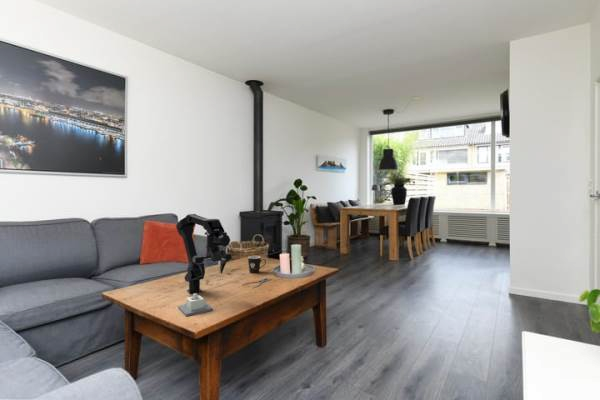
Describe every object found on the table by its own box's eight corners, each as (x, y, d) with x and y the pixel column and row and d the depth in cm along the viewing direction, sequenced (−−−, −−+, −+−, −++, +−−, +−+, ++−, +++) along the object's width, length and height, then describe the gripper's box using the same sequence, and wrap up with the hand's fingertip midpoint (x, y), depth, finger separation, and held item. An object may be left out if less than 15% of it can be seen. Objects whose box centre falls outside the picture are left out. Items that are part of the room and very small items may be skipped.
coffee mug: (245, 272, 211) (245, 257, 211) (254, 269, 218) (254, 255, 218) (258, 275, 204) (258, 259, 204) (266, 272, 211) (266, 257, 211)
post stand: (178, 308, 147) (177, 293, 146) (203, 302, 154) (203, 288, 153) (185, 316, 137) (185, 300, 137) (212, 310, 144) (212, 295, 144)
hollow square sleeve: (186, 306, 146) (186, 297, 146) (199, 303, 149) (199, 295, 149) (190, 310, 141) (190, 301, 141) (204, 307, 145) (203, 298, 144)
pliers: (239, 285, 180) (258, 276, 199) (239, 287, 180) (258, 278, 199) (254, 287, 177) (271, 278, 195) (254, 289, 177) (271, 280, 195)
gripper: (198, 248, 148) (198, 281, 149) (236, 244, 159) (236, 275, 159) (192, 244, 158) (192, 275, 158) (228, 241, 168) (227, 270, 169)
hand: (212, 274), depth 161 cm, fingers open, 9 cm apart
